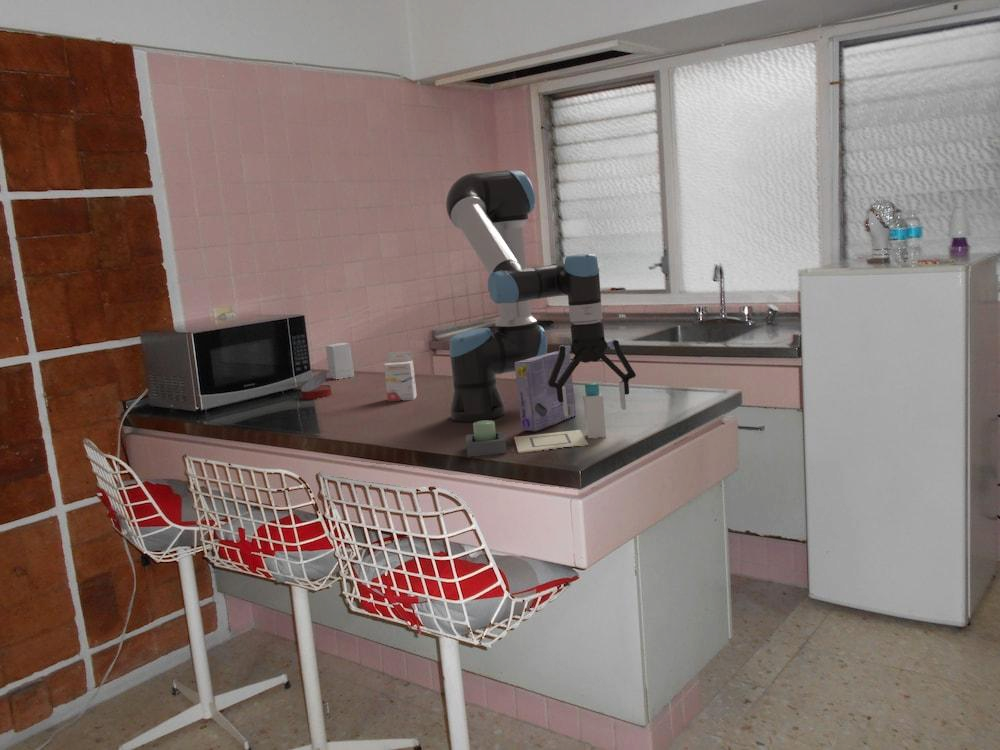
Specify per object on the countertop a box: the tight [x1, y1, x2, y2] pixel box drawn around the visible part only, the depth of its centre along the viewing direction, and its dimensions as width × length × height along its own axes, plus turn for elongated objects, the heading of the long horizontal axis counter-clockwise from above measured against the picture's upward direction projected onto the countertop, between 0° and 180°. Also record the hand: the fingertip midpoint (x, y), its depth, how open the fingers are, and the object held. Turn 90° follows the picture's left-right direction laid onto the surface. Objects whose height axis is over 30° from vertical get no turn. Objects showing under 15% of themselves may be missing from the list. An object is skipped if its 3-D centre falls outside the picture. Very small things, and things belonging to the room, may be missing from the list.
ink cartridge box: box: [383, 350, 417, 402], centre depth 279 cm, size 9×5×15 cm, turn 84°
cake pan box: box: [514, 350, 577, 433], centre depth 226 cm, size 19×5×18 cm, turn 141°
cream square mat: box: [513, 429, 589, 454], centre depth 209 cm, size 14×16×1 cm
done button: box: [472, 419, 497, 442], centre depth 207 cm, size 5×5×4 cm
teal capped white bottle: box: [582, 382, 607, 439], centre depth 209 cm, size 4×4×12 cm
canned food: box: [300, 370, 333, 400], centre depth 299 cm, size 11×10×10 cm
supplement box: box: [325, 342, 355, 381], centre depth 333 cm, size 7×7×13 cm
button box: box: [465, 430, 508, 458], centre depth 207 cm, size 9×9×3 cm
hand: (594, 412), depth 209 cm, fingers open, 13 cm apart
